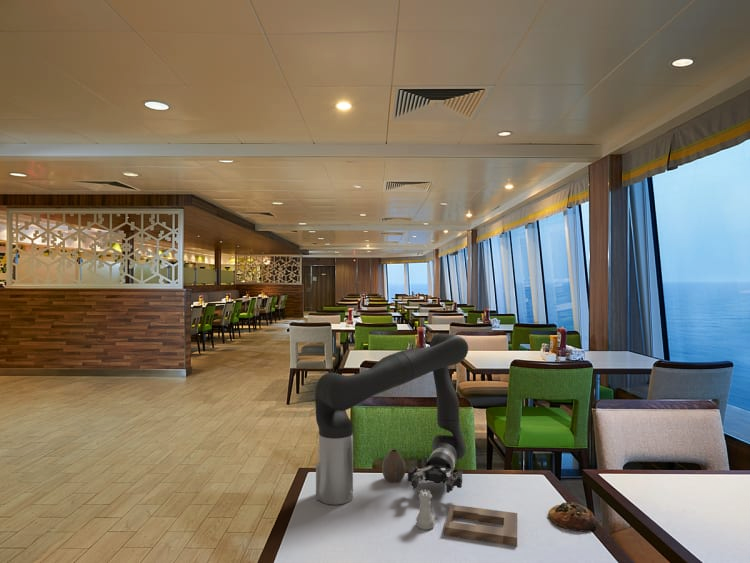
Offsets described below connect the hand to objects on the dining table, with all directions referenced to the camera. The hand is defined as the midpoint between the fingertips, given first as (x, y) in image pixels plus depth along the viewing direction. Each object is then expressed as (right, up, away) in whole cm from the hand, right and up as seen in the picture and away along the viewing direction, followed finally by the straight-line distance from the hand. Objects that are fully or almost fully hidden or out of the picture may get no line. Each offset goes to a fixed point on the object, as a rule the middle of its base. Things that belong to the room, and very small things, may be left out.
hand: (430, 486), depth 120 cm
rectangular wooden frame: (+11, -6, -9) cm, 15 cm away
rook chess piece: (-2, -6, -8) cm, 10 cm away
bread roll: (+34, -6, -5) cm, 35 cm away
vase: (-9, -7, +19) cm, 22 cm away
